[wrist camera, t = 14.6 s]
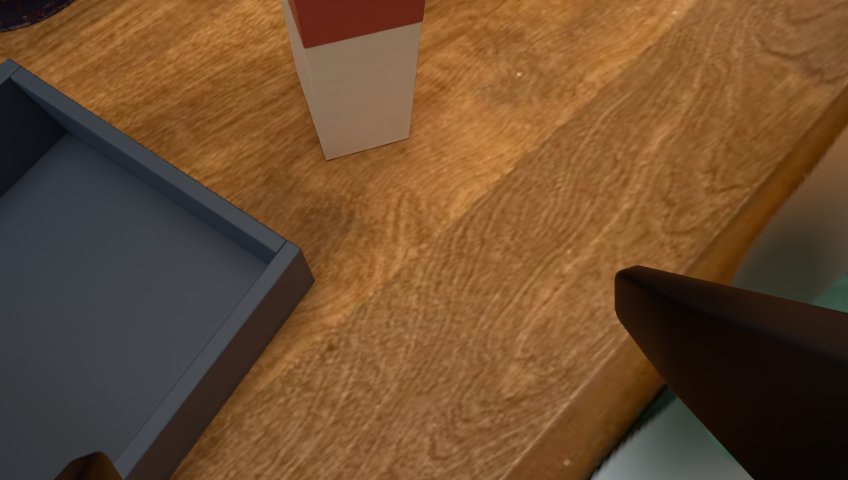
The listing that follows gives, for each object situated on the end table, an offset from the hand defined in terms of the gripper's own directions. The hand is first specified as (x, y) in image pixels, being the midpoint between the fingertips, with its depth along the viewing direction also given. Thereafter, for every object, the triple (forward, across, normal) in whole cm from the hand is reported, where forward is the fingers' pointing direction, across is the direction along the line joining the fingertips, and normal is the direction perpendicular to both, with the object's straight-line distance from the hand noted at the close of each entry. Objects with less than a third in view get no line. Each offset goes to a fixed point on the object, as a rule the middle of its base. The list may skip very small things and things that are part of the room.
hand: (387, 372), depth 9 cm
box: (+14, +10, +4) cm, 18 cm away
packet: (+18, -3, 0) cm, 19 cm away
